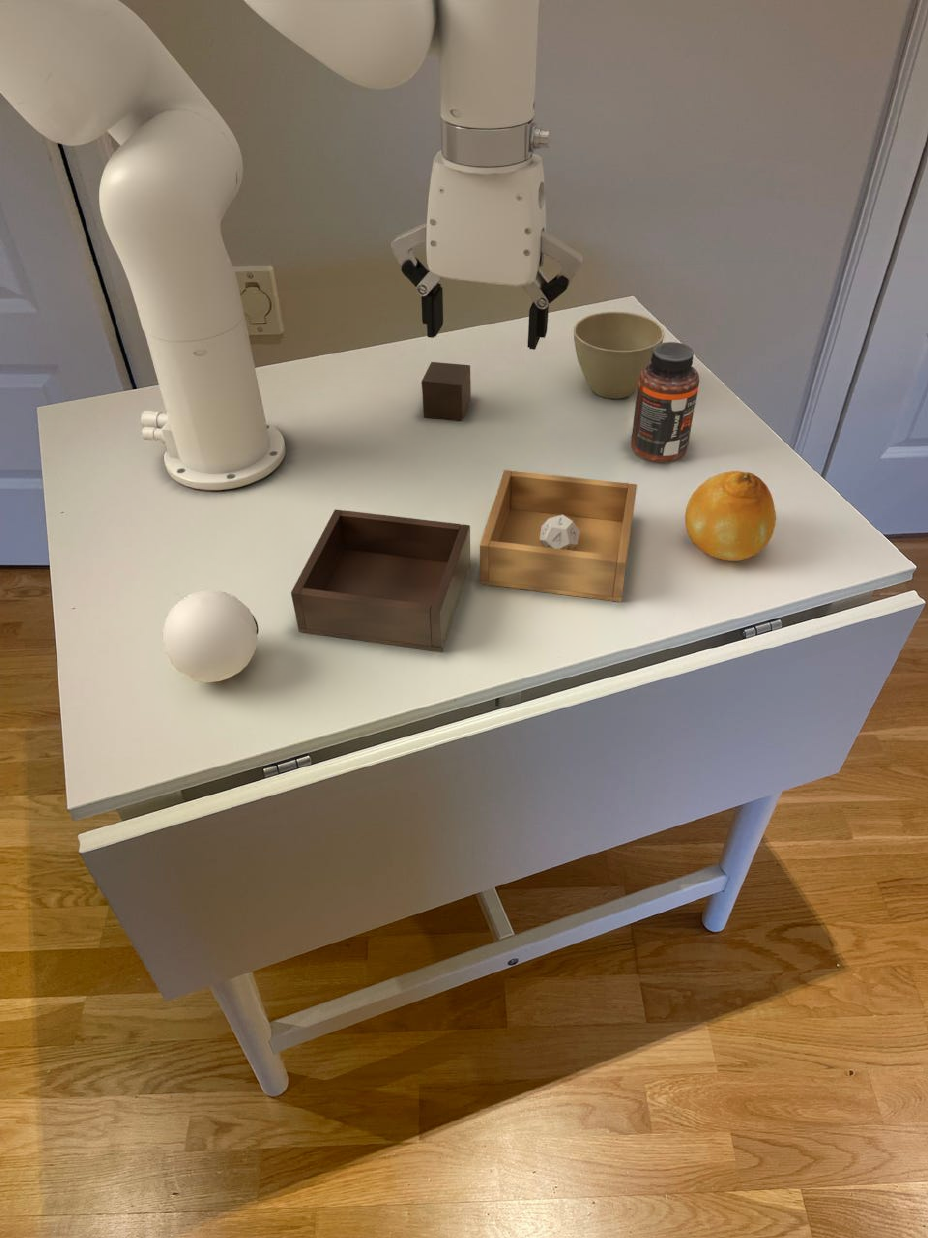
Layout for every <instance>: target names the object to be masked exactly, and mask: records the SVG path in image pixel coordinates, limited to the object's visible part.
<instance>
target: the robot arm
mask: <svg viewBox="0 0 928 1238" xmlns="http://www.w3.org/2000/svg"><path fill="white" fill-rule="evenodd" d="M243 2H244V3H246V4H247V6H248V7H249V8H251V9H252V11H254V12H255V13H256V14H257V15H258V16H259V17H261V18H262V19H263V20H264V21H265V22H267V23H268V24H269V25H270V26H271V27H272V28H274V29H275V30H276V31H278V32H279V33H280V34H281V35H283V36H284V37H285V38H287V39H288V40H290V41H291V42H292V43H293V44H295V45H296V46H297V47H299V48H301V49H302V50H303V51H305V52H306V53H307V54H309V55H310V56H311V57H313V58H315V60H317V61H318V62H320V63H321V64H323V65H324V66H326V67H327V68H329V69H330V70H331V71H333V72H334V73H335V74H337V75H338V76H340V77H341V78H343V79H345V80H347V81H348V82H351V83H353V84H355V85H357V86H361V87H363V88H367V89H371V90H391V89H393V88H397V87H399V86H401V85H403V84H405V83H407V82H408V81H409V80H411V78H413V76H414V75H415V74H416V73H417V72H418V71H419V69H420V68H421V66H422V64H423V63H424V61H425V59H426V58H427V57H432V56H434V57H435V58H436V59H437V60H438V62H439V63H438V64H439V104H440V105H439V110H440V150H438V151H437V152H436V154H435V156H434V158H433V162H432V169H431V175H430V176H431V177H430V182H429V191H428V192H429V193H428V200H427V201H428V202H427V216H426V217H427V218H426V222H424V223H422V224H420V225H417V226H416V227H414V228H411V229H409V230H407V231H405V232H403V233H401V234H398V235H396V236H395V237H394V238H393V239H392V241H391V242H390V245H389V246H390V249H391V251H392V254H393V255H394V257H395V259H396V260H397V263H398V264H399V265H400V267H401V268H400V269H401V272H402V274H403V275H404V276H405V277H406V279H408V280H409V281H410V283H411V284H412V285H413V286H414V287H415V291H416V293H417V294H418V295H419V296H421V299H420V301H421V321H422V325H426V334H427V338H431V339H434V338H436V337H437V335H438V334H439V332H440V330H441V329H442V326H443V325H444V296H443V294H444V293H443V287H442V284H441V283H439V282H440V281H441V280H442V279H445V280H452V281H461V282H469V283H478V284H488V285H497V286H509V287H521V288H523V290H524V292H525V293H526V294H527V295H528V297H529V298H530V299H531V301H532V303H531V305H530V307H529V310H528V326H527V327H528V328H527V348H528V349H529V350H533V351H536V349H537V346H538V345H539V342H540V340H541V338H542V339H543V338H544V339H546V337H547V333H548V328H549V327H548V325H549V312H550V310H549V309H550V304H551V303H552V302H554V300H556V299H557V298H558V297H560V296H561V295H562V294H563V293H564V292H565V291H567V290H568V287H569V286H570V284H571V283H572V281H573V280H574V278H575V277H576V275H577V274H578V272H579V270H580V269H581V267H582V264H583V261H584V256H583V255H582V253H581V252H578V251H577V250H576V249H574V248H572V247H570V246H569V245H567V244H566V243H565V242H563V241H561V240H560V239H558V238H557V237H555V236H554V235H552V234H550V233H549V232H547V199H546V183H545V182H546V181H545V171H544V164H543V159H542V157H541V156H540V155H539V154H537V153H535V151H536V150H540V149H549V148H550V146H551V140H552V130H551V129H549V128H548V129H545V128H543V127H542V126H539V123H538V122H537V116H536V115H535V103H536V102H535V100H536V79H537V57H538V56H537V55H538V54H537V53H538V36H539V35H538V34H539V15H540V14H539V11H540V0H243ZM0 95H1V96H2V97H3V98H5V100H6V101H7V102H8V103H9V104H10V105H11V106H12V107H13V108H14V110H16V112H17V113H18V114H19V115H20V116H21V117H22V118H23V119H24V120H25V121H26V122H27V123H28V124H29V125H30V126H31V127H32V128H33V129H34V130H35V131H37V132H38V133H39V134H41V135H42V136H44V137H45V138H46V139H48V140H50V141H51V142H53V143H57V144H60V145H63V146H69V147H74V146H76V147H77V146H82V145H86V144H89V143H91V142H93V141H95V140H97V139H99V138H100V137H101V136H103V135H104V134H106V133H108V134H109V135H110V136H111V137H112V138H113V139H114V140H115V141H116V142H117V144H118V145H119V146H118V147H117V149H116V150H115V151H114V152H113V154H112V155H111V157H110V158H109V160H108V162H107V163H106V165H105V167H104V170H103V172H102V174H101V175H102V176H101V178H100V182H99V183H100V184H99V191H98V202H99V203H98V204H99V211H100V215H101V219H102V222H103V226H104V228H105V231H106V233H107V235H108V237H109V239H110V242H111V245H112V246H113V248H114V250H115V253H116V255H117V257H118V259H119V261H120V263H121V266H122V268H123V271H124V273H125V276H126V279H127V281H128V284H129V288H130V290H131V293H132V296H133V299H134V303H135V306H136V309H137V310H136V311H137V313H138V317H139V320H140V324H141V328H142V330H143V332H144V336H145V339H146V340H145V341H146V344H147V348H148V350H149V354H150V359H151V361H152V365H153V368H154V372H155V376H156V379H157V383H158V387H159V390H160V393H161V394H160V395H161V397H162V401H163V405H164V408H165V411H166V413H164V412H163V411H153V410H144V411H143V412H142V413H141V416H140V417H141V418H140V422H141V426H142V429H141V435H142V436H141V437H142V439H143V440H144V441H154V442H157V441H159V442H163V444H164V445H166V449H165V451H164V456H163V458H164V459H163V460H164V465H165V468H166V471H167V473H168V474H169V476H170V477H171V479H173V480H174V481H176V482H177V483H179V484H181V485H183V486H185V487H187V488H192V489H196V490H203V491H222V490H224V491H225V490H232V489H236V488H241V487H244V486H248V485H250V484H254V483H256V482H258V481H260V480H263V479H264V478H266V477H267V476H268V475H270V474H271V473H273V472H274V471H275V470H276V469H277V468H278V467H279V466H280V464H281V463H282V462H283V460H284V458H285V456H286V450H287V449H286V444H285V443H286V442H285V437H284V435H283V434H282V432H281V431H280V430H279V429H278V428H277V427H276V426H274V425H273V424H271V423H269V422H267V421H266V417H265V412H264V407H263V406H264V405H263V402H262V396H261V391H260V386H259V380H258V375H257V372H256V371H257V370H256V365H255V359H254V355H253V350H252V345H251V340H250V335H249V330H248V324H247V319H246V315H245V310H244V306H243V301H242V295H241V292H240V291H241V290H240V287H239V282H238V279H237V276H236V272H235V269H234V267H233V264H232V261H231V258H230V256H229V253H228V251H227V249H226V245H225V242H224V240H223V236H222V227H221V226H222V225H221V223H222V222H221V221H222V220H223V218H224V216H225V215H226V212H227V210H228V209H229V207H230V206H231V205H232V203H233V201H234V200H235V199H236V197H237V196H238V193H239V191H240V188H241V185H242V181H243V178H244V177H243V176H244V162H243V155H242V152H241V149H240V145H239V144H238V141H237V139H236V137H235V135H234V134H233V131H232V130H231V128H230V126H229V125H228V124H227V123H226V121H225V119H224V118H223V117H222V115H221V114H220V113H219V112H218V111H217V109H216V108H215V106H214V105H213V104H212V103H211V102H210V101H209V99H208V98H207V96H205V94H204V93H203V92H202V91H201V90H200V88H199V87H198V86H197V85H196V83H195V82H194V81H193V79H192V78H191V77H190V76H189V74H188V73H187V72H186V71H185V70H184V69H183V67H182V66H181V65H180V64H179V63H178V61H177V60H176V59H175V57H174V56H173V55H172V54H171V51H169V50H168V49H167V47H166V46H165V44H163V42H162V41H161V40H160V39H159V38H158V36H157V35H156V34H155V33H154V31H152V29H151V28H150V27H149V25H148V24H146V22H145V21H144V20H143V19H142V18H140V16H139V15H138V14H137V13H136V12H134V11H133V10H132V9H131V8H129V7H128V6H127V5H126V4H125V3H123V2H122V1H120V0H0ZM424 243H425V246H426V248H425V249H426V250H425V251H426V264H427V268H428V269H427V268H426V266H424V264H423V263H422V262H421V261H420V260H419V259H418V258H417V257H416V256H415V255H414V251H413V248H415V247H417V246H419V245H422V244H424ZM546 256H547V257H549V258H550V259H551V260H554V261H555V262H556V263H558V264H559V265H560V266H561V270H560V272H559V273H558V274H556V275H555V276H554V277H553V278H551V280H549V279H548V278H547V276H546V275H545V273H544V271H542V269H541V268H540V267H543V266H544V263H545V257H546Z"/></svg>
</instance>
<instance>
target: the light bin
mask: <svg viewBox="0 0 928 1238" xmlns="http://www.w3.org/2000/svg"><path fill="white" fill-rule="evenodd" d="M500 478H501V479H500V482H499V484H498V488H497V491H496V494H495V497H494V500H493V503H492V506H491V509H490V512H489V515H488V517H487V521H486V525H485V528H484V531H483V534H482V536H481V537H482V538H481V540H480V543H479V584H480V585H486V586H494V587H501V588H502V587H503V588H508V589H509V588H510V589H518V590H526V591H534V592H541V593H548V594H556V595H565V596H573V597H581V598H586V599H588V598H589V599H596V600H602V601H611V602H619V603H621V602H622V599H623V591H624V584H625V577H626V570H627V563H628V556H629V550H630V549H629V547H630V541H631V535H632V534H631V533H632V527H633V519H634V512H635V505H636V504H635V503H636V497H637V490H638V484H637V483H628V482H621V481H612V480H600V479H593V478H592V479H591V478H583V477H573V476H563V475H555V474H545V473H538V472H537V473H536V472H535V473H534V472H527V471H519V470H518V471H517V470H510V469H509V470H507V469H504V470H503V473H502V475H501V477H500ZM559 515H564V516H566V517H567V518H569V519H570V520H572V521H573V522H574V523H575V524H576V526H577V527H578V529H579V530H580V534H579V540H578V545H577V546H576V547H574V548H573V549H572V550H563V549H555V548H547V547H545V546H544V545H543V543H542V542H541V541H540V540H539V539H540V534H541V528H542V525H543V524H544V523H545V522H546V521H547V520H548V519H549V518H552V517H555V516H559Z"/></svg>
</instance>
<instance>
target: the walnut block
mask: <svg viewBox="0 0 928 1238" xmlns="http://www.w3.org/2000/svg"><path fill="white" fill-rule="evenodd" d="M471 383H472V381H471V365H470V364H461V363H448V362H440V361H439V362H438V361H431V362H430V364H429V365H428V367H427V370H426V372H425V374H424V376H423V378H422V380H421V394H422V409H423V410H422V412H423V418H430V419H439V420H440V419H441V420H448V421H449V420H450V421H460V422H462V421H464V418H465V416H466V413H467V411H468V409H469V406H470V404H471V402H472V388H471V387H472V386H471V385H472V384H471Z"/></svg>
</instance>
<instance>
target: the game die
mask: <svg viewBox="0 0 928 1238" xmlns="http://www.w3.org/2000/svg"><path fill="white" fill-rule="evenodd" d="M579 534H580V530H579V529H578V527H577V526H576V524H575V523H574V522H573V521H572V520H570V519H569V518H567V517H566V516H564V515H559V516H555V517H552V518H549V519H548V520H547V521H546V522H545V523H544V524H543V525H542V528H541V534H540V539H539V540H540V541H541V542H542V543H543V545H544V546H545V547H547V548H555V549H563V550H572V549H573V548H574V547H576V546H577V545H578V540H579Z"/></svg>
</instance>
